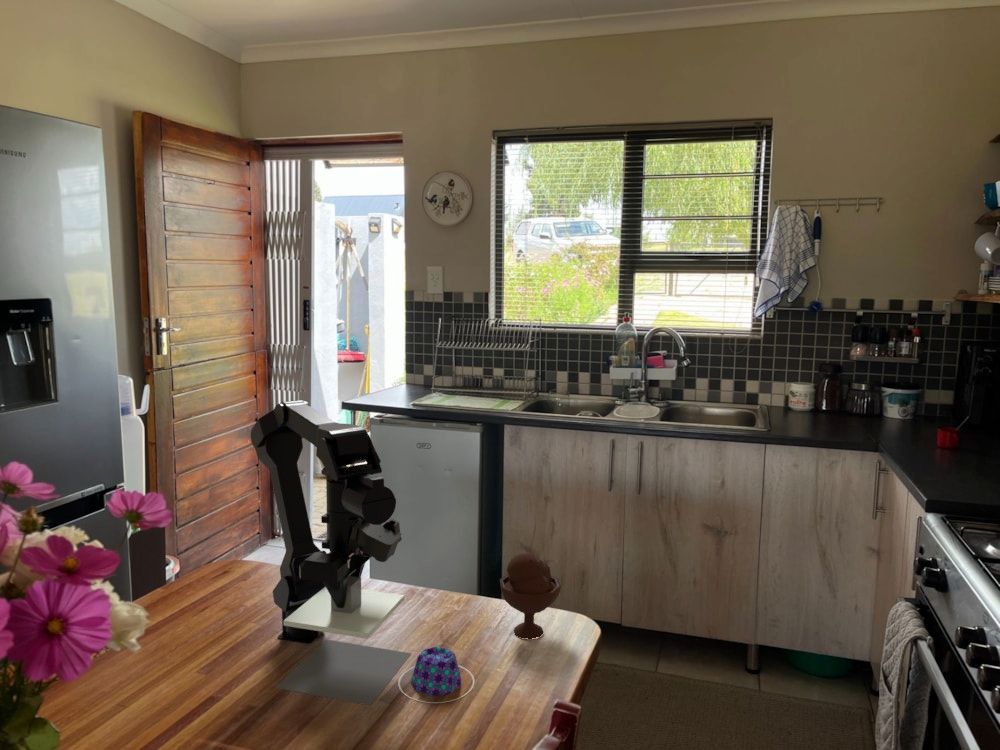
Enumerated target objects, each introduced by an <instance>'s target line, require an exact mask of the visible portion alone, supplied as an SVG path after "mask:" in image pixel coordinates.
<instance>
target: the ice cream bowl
mask: <svg viewBox="0 0 1000 750" xmlns="http://www.w3.org/2000/svg"><path fill="white" fill-rule="evenodd" d="M506 567H507V568H506V572H507V574H505V575H504V576H502V577H501V578H500V579H499V583H500V584H499V585H500V589H501V592H502V596H503V597H504V598H503V599H504V600H505V602H506V603H507V604H508V605H509V606H510V607H512V608H513V609H515V610H516V611H519V612H521V613H522V614H524V616H523V617H524V619H523V622H521V623H519V624H517V625H516V626H515V627H514V628H513V634H514V633H515V634H514V636H515V635H516V637H517V636H518V637H517V638H519V637H521V638H528V639H532V638H536V637H540V636H541V635H542V634H543V633H544V630H543V627H542V626H540V625H538V624H537V623H535V615H536V614H537V613H541V612H543V611H545V610H546V609H547V608H549V607H550V606H551V605H552V604H553V603H554V602H555V601H556V600H557V599H558V597H559V595H560V592H561V589H562V584H561V582H560V580H559V578H558V577H556V576H554V575H552V574H551V567H550V566H549V565H548V563H546V562H544V561H543V559H539V558H538V557H536V556H535V555H534V554H532V553H524V552H522V553H519V554H516V555H514V556H513V557H512V558H510V560H509V562H508V564H507V566H506ZM544 634H545V633H544ZM521 638H520V639H521Z"/></svg>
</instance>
